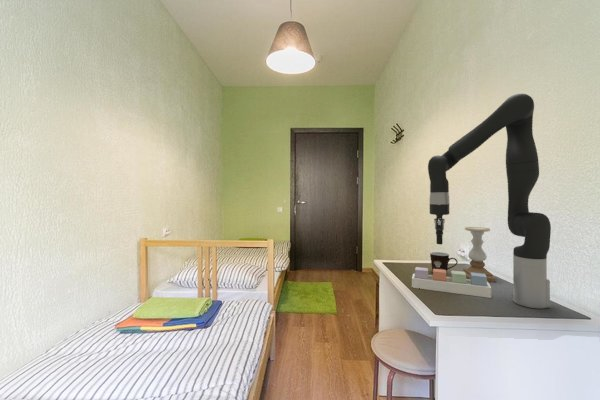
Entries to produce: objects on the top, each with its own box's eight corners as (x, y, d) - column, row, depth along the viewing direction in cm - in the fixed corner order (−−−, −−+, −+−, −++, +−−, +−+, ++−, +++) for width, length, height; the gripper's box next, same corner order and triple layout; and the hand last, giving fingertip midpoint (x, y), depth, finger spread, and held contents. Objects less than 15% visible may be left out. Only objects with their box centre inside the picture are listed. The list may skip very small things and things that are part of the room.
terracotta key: (446, 280, 117) (446, 269, 117) (446, 283, 113) (446, 272, 113) (433, 278, 120) (433, 268, 120) (432, 282, 115) (432, 271, 115)
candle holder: (496, 282, 123) (496, 229, 123) (469, 281, 126) (469, 229, 125) (484, 275, 134) (484, 226, 134) (460, 274, 136) (460, 226, 136)
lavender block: (428, 278, 121) (428, 268, 120) (427, 281, 116) (427, 271, 116) (415, 276, 123) (415, 266, 123) (415, 280, 118) (414, 269, 118)
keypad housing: (487, 291, 112) (487, 281, 112) (491, 298, 105) (491, 287, 105) (413, 282, 125) (413, 273, 125) (411, 287, 118) (411, 278, 118)
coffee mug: (426, 272, 140) (426, 253, 140) (437, 270, 144) (437, 251, 144) (446, 278, 130) (446, 257, 130) (458, 276, 133) (458, 255, 133)
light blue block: (485, 284, 111) (485, 273, 111) (486, 288, 107) (486, 277, 106) (470, 283, 113) (470, 272, 113) (471, 286, 109) (471, 275, 109)
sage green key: (465, 282, 114) (464, 271, 114) (466, 286, 110) (466, 275, 110) (451, 280, 116) (451, 270, 116) (451, 284, 112) (451, 273, 112)
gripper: (430, 202, 124) (430, 240, 124) (429, 203, 111) (429, 245, 111) (448, 202, 120) (448, 241, 121) (450, 203, 108) (450, 246, 108)
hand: (439, 242), depth 116 cm, fingers open, 5 cm apart
